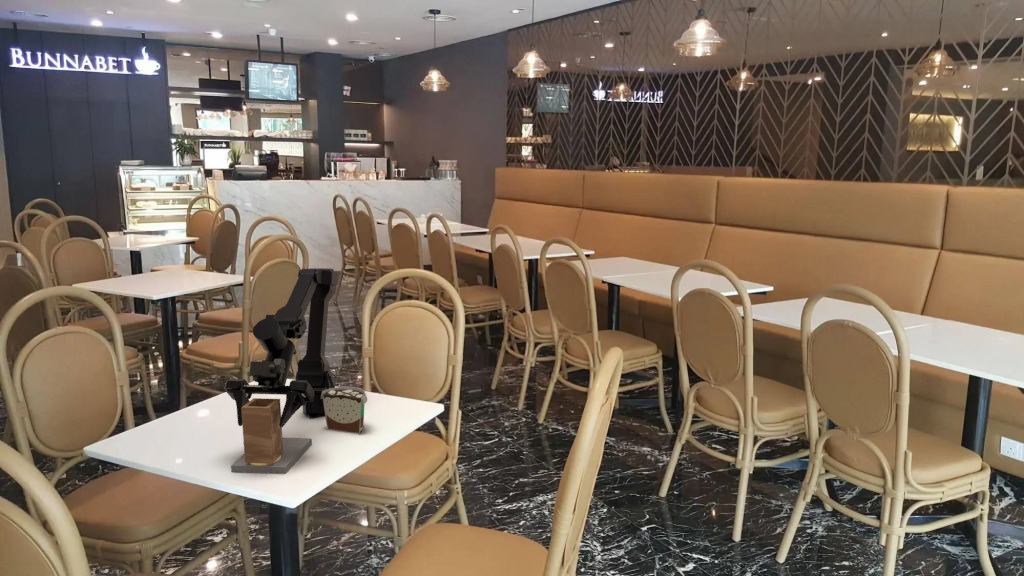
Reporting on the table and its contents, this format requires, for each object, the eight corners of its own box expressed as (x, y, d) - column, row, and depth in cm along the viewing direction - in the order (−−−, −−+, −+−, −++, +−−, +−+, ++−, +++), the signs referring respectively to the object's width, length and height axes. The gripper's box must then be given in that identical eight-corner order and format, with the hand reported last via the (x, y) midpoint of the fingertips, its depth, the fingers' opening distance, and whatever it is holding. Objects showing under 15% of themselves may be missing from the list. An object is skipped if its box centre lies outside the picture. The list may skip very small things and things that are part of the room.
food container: (377, 426, 176) (376, 388, 174) (365, 435, 170) (363, 396, 168) (336, 420, 180) (334, 383, 178) (322, 429, 174) (320, 391, 172)
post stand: (263, 443, 165) (261, 422, 164) (312, 444, 164) (310, 423, 163) (231, 472, 149) (229, 449, 148) (285, 473, 149) (284, 450, 148)
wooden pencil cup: (257, 451, 155) (253, 398, 153) (283, 452, 155) (280, 398, 153) (245, 462, 149) (241, 407, 147) (272, 463, 149) (268, 408, 147)
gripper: (224, 344, 153) (203, 408, 144) (307, 345, 151) (290, 411, 142) (243, 368, 162) (224, 430, 153) (321, 369, 160) (306, 432, 151)
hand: (260, 425), depth 150 cm, fingers open, 9 cm apart
